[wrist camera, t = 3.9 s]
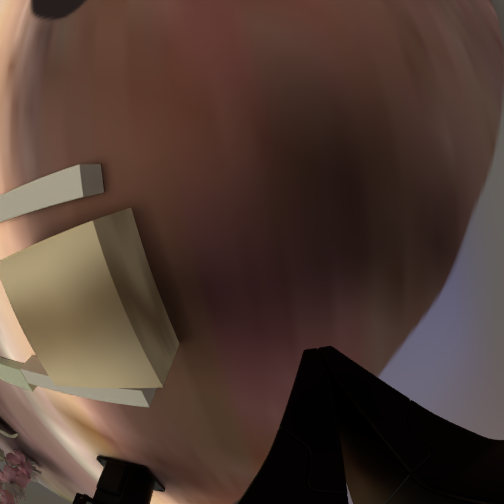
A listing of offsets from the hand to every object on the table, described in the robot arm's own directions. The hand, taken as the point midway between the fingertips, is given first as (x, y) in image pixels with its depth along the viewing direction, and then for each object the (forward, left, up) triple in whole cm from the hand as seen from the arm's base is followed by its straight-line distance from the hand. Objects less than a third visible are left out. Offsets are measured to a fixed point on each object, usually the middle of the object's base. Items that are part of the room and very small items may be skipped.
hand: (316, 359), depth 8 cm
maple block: (0, +11, -6) cm, 13 cm away
